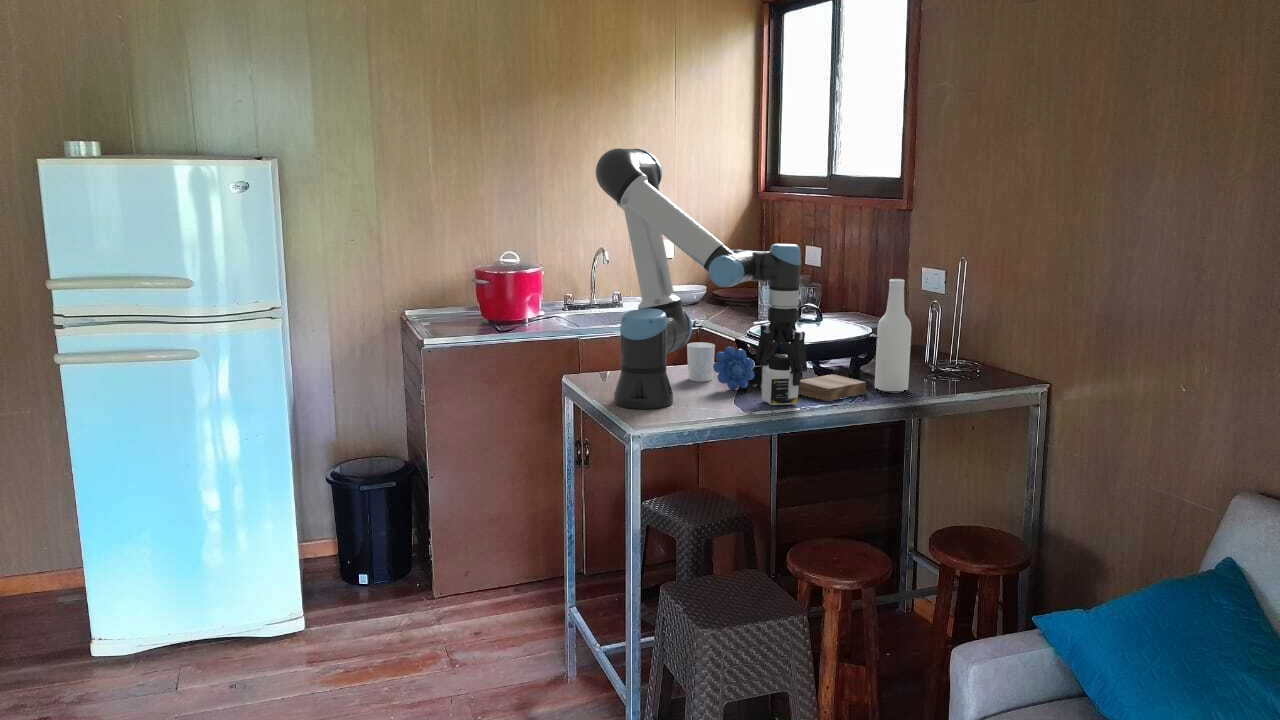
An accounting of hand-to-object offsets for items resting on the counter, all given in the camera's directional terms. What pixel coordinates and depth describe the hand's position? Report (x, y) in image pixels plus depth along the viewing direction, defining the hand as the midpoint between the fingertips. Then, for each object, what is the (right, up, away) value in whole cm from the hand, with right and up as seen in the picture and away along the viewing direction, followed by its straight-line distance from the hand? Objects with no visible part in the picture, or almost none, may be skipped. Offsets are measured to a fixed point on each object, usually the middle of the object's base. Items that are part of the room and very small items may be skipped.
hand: (779, 393), depth 242 cm
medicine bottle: (0, -2, 0) cm, 2 cm away
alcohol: (+32, 0, +15) cm, 36 cm away
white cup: (-18, +3, +28) cm, 34 cm away
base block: (+15, 0, +10) cm, 18 cm away
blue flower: (-10, 0, +15) cm, 18 cm away
